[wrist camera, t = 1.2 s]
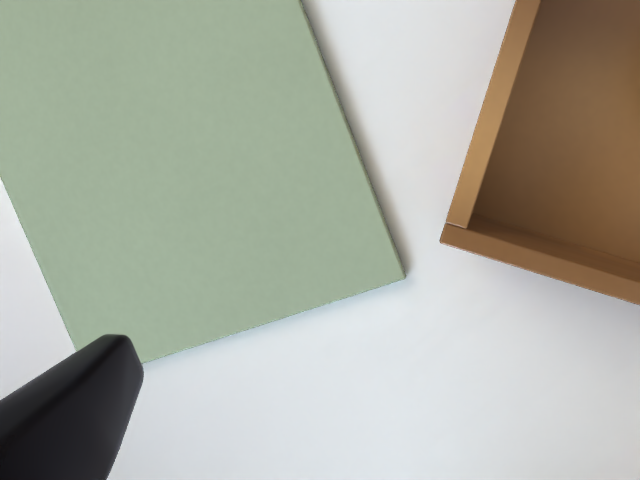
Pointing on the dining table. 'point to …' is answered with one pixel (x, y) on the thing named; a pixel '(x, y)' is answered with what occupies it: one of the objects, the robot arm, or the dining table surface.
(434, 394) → the dining table surface
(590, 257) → the tray
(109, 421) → the robot arm
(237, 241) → the mat
